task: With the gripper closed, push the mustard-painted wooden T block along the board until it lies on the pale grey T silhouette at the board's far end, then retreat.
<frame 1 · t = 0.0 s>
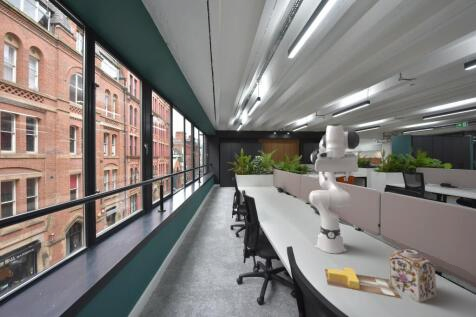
hand: (335, 180, 101), 48 cm above the table, fingers open, 8 cm apart
board: (358, 284, 90), on the table
decorative jar: (411, 292, 85), on the table, touching board
t block: (346, 279, 92), point 1 cm above the table, touching board
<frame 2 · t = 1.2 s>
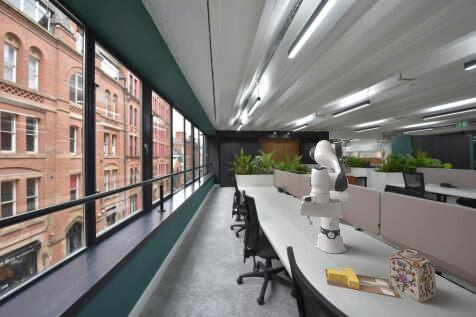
hand: (320, 225, 98), 25 cm above the table, fingers open, 8 cm apart
nothing on the table moved.
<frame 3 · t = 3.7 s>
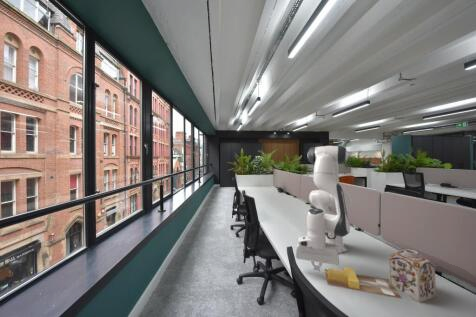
hand: (316, 269, 96), 4 cm above the table, fingers closed
nothing on the table moved.
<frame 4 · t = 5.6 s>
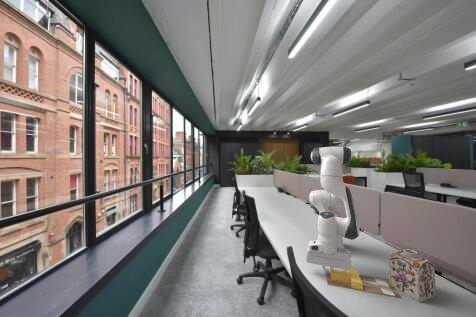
hand: (327, 274, 95), 2 cm above the table, fingers closed
t block: (349, 280, 92), point 1 cm above the table, touching gripper
everything else where it was.
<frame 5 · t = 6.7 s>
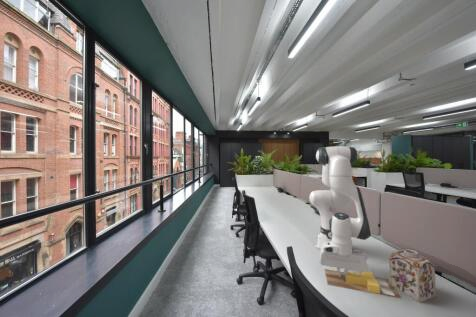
hand: (342, 276, 93), 2 cm above the table, fingers closed
t block: (365, 283, 89), point 1 cm above the table, touching board, gripper
everything else where it was.
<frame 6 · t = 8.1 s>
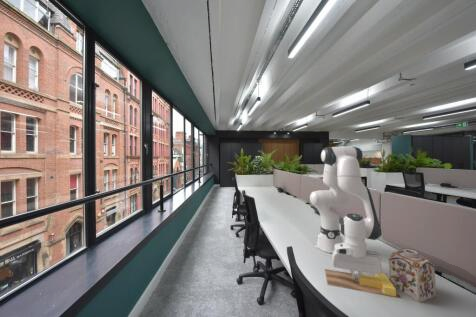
hand: (356, 279, 91), 2 cm above the table, fingers closed
t block: (379, 286, 87), point 1 cm above the table, touching board, gripper
everything else where it was.
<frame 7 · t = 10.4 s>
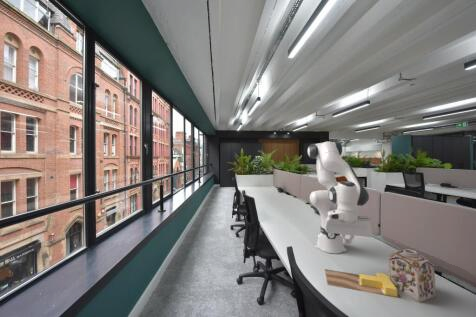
hand: (347, 243, 94), 18 cm above the table, fingers closed
t block: (380, 286, 87), point 1 cm above the table, touching board
everything else where it was.
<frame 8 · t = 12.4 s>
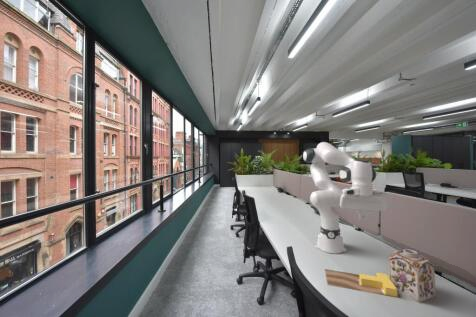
hand: (362, 218, 97), 29 cm above the table, fingers closed
nothing on the table moved.
at the end: t block 0.8 cm from the target spot on the board, point 1.0 cm above the board's base; t block tilted 0° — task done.
